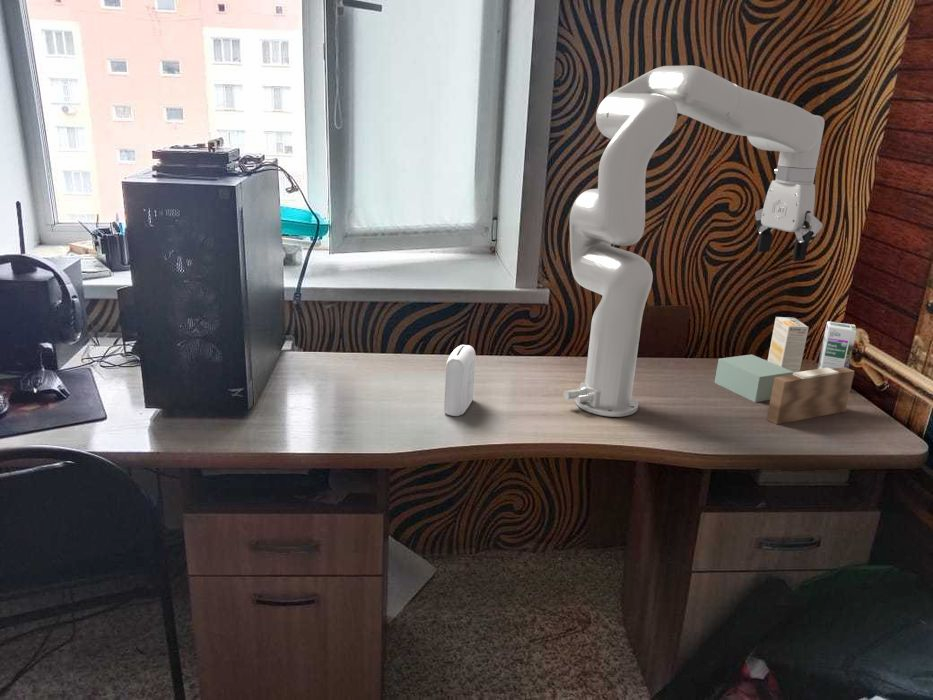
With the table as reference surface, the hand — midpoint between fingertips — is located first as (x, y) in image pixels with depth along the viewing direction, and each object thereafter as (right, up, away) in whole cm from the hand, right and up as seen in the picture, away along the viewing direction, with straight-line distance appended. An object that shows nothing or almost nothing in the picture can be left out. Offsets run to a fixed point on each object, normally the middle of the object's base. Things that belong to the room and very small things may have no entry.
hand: (780, 255), depth 162 cm
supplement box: (+6, -27, +13) cm, 30 cm away
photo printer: (-70, -32, -16) cm, 79 cm away
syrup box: (+14, -29, +8) cm, 33 cm away
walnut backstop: (+1, -34, -10) cm, 36 cm away
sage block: (-6, -30, +2) cm, 30 cm away
